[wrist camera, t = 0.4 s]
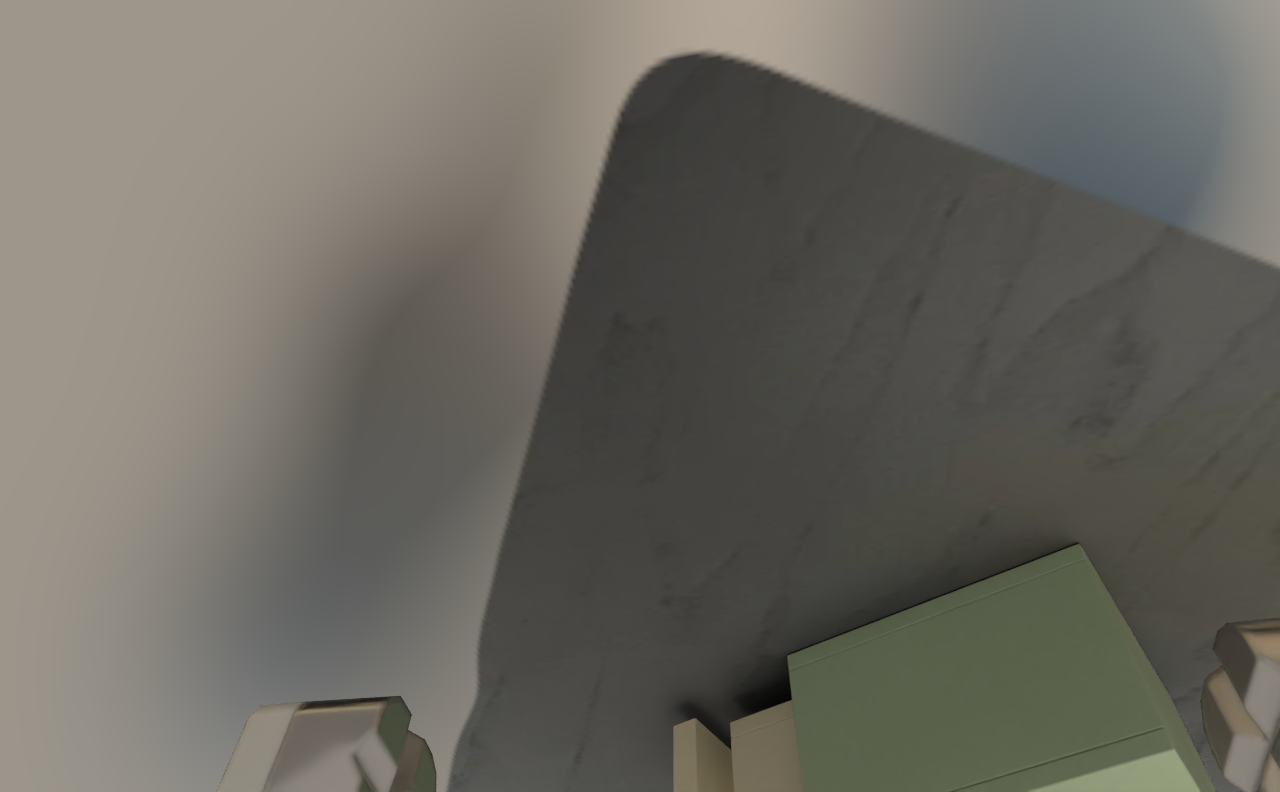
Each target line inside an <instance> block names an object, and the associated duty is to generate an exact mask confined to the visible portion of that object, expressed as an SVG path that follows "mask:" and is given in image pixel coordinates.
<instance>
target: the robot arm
mask: <svg viewBox="0 0 1280 792" xmlns="http://www.w3.org/2000/svg"><path fill="white" fill-rule="evenodd" d="M1213 650H1214V652H1215V654H1216V656H1217V657H1218V659H1219V661H1220V663H1221V666H1220V667H1219V668H1218V669H1216V670H1215V671H1214V672H1213V673H1211V674H1210V675H1209V676H1207V677H1206V678H1205V680H1204V685H1203V690H1202V695H1201V700H1200V702H1201V710H1202V718H1203V726H1204V731H1205V734H1206V737H1207V740H1208V743H1209V745H1210V748H1211V751H1212V754H1213V756H1214V758H1215V760H1216V762H1217V764H1218V766H1219V768H1220V770H1221V772H1222V774H1223V776H1224V777H1225V778H1226V779H1227V780H1229V781H1230V782H1232V783H1233V784H1234V785H1236V786H1237V787H1238V788H1240V789H1241V790H1243V791H1244V792H1280V618H1273V619H1263V620H1253V621H1243V622H1233V623H1226V624H1225V625H1224V626H1223V627H1222V628H1220V629H1219V630H1218V632H1217V635H1216V639H1215V642H1214V646H1213ZM411 716H412V714H411V712H410V711H409V709H408V707H407V706H406V704H405V703H404V701H403V699H402V697H401V696H390V697H374V698H358V699H343V700H327V701H309V702H308V701H306V702H294V703H281V704H269V705H260V707H259V708H258V709H257V710H256V711H255V712H254V713H253V714H252V715H251V716H250V717H249V719H248V720H247V722H246V724H245V726H244V729H243V731H242V733H241V736H240V738H239V740H238V743H237V745H236V747H235V750H234V752H233V754H232V756H231V759H230V761H229V763H228V766H227V768H226V770H225V773H224V775H223V777H222V779H221V782H220V784H219V786H218V789H217V791H216V792H436V770H435V765H434V761H433V756H432V753H431V751H430V749H429V747H428V745H427V743H426V741H425V740H424V739H423V738H421V737H419V736H418V735H416V734H414V733H413V732H411V731H409V730H408V727H409V723H410V719H411Z"/></svg>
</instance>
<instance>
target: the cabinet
mask: <svg viewBox="0 0 1280 792" xmlns="http://www.w3.org/2000/svg"><path fill="white" fill-rule="evenodd" d="M787 660H788V668H789V678H790V686H791V695H792V704H793V712H794V721H795V729H796V738H797V746H798V755H799V763H800V772H801V780H802V789H803V792H1216V791H1215V788H1214V786H1213V784H1212V782H1211V780H1210V778H1209V776H1208V774H1207V772H1206V770H1205V768H1204V766H1203V764H1202V762H1201V759H1200V757H1199V755H1198V753H1197V751H1196V749H1195V747H1194V745H1193V743H1192V741H1191V739H1190V737H1189V735H1188V732H1187V730H1186V728H1185V726H1184V724H1183V722H1182V720H1181V718H1180V716H1179V714H1178V712H1177V710H1176V708H1175V706H1174V703H1173V701H1172V699H1171V697H1170V695H1169V694H1168V692H1167V690H1166V689H1165V687H1164V685H1163V684H1162V682H1161V680H1160V679H1159V677H1158V675H1157V673H1156V672H1155V670H1154V668H1153V667H1152V665H1151V663H1150V662H1149V660H1148V658H1147V657H1146V655H1145V653H1144V651H1143V650H1142V648H1141V646H1140V645H1139V643H1138V641H1137V640H1136V638H1135V636H1134V635H1133V633H1132V631H1131V629H1130V628H1129V626H1128V624H1127V623H1126V621H1125V619H1124V618H1123V616H1122V614H1121V613H1120V611H1119V609H1118V607H1117V606H1116V604H1115V602H1114V601H1113V599H1112V597H1111V596H1110V594H1109V592H1108V591H1107V589H1106V587H1105V585H1104V584H1103V582H1102V580H1101V579H1100V577H1099V575H1098V574H1097V572H1096V570H1095V569H1094V567H1093V565H1092V563H1091V562H1090V560H1089V558H1088V557H1087V555H1086V553H1085V552H1084V550H1083V548H1082V547H1081V545H1080V544H1076V545H1074V546H1071V547H1068V548H1066V549H1063V550H1061V551H1058V552H1055V553H1053V554H1050V555H1048V556H1045V557H1042V558H1040V559H1037V560H1035V561H1032V562H1029V563H1027V564H1024V565H1022V566H1019V567H1016V568H1014V569H1011V570H1009V571H1006V572H1003V573H1001V574H998V575H996V576H993V577H990V578H988V579H985V580H983V581H980V582H977V583H975V584H972V585H970V586H967V587H964V588H962V589H959V590H957V591H954V592H951V593H949V594H946V595H944V596H941V597H938V598H936V599H933V600H931V601H928V602H925V603H923V604H920V605H918V606H915V607H912V608H910V609H907V610H905V611H902V612H899V613H897V614H894V615H892V616H889V617H886V618H884V619H881V620H879V621H876V622H873V623H871V624H868V625H866V626H863V627H860V628H858V629H855V630H853V631H850V632H847V633H845V634H842V635H840V636H837V637H834V638H832V639H829V640H827V641H824V642H821V643H819V644H816V645H814V646H811V647H808V648H806V649H803V650H801V651H798V652H795V653H793V654H790V655H788V656H787Z"/></svg>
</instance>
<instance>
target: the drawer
mask: <svg viewBox="0 0 1280 792" xmlns="http://www.w3.org/2000/svg"><path fill="white" fill-rule="evenodd" d="M730 731H731V749H732V750H730V749H729V748H728V747H727V746H726V745H725V744H724V743H723V742H722V741H720V740H719V739H718V738H717V737H716V736H715V735H714V734H713V733H712V732H710V731H709V730H708V729H707V728H706V727H705V726H704V725H703V724H702V723H700V722H699V721H698V720H697V719H696V718H694V719H691V720H689V721H686V722H683V723H681V724H678V725H675V726H674V727H673V774H674V792H803V789H802V780H801V772H800V763H799V755H798V746H797V738H796V729H795V721H794V712H793V704H792V700H790V701H788V702H785V703H782V704H779V705H777V706H774V707H771V708H768V709H766V710H763V711H760V712H757V713H755V714H752V715H749V716H746V717H744V718H741V719H738V720H735V721H733V722H730Z"/></svg>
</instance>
